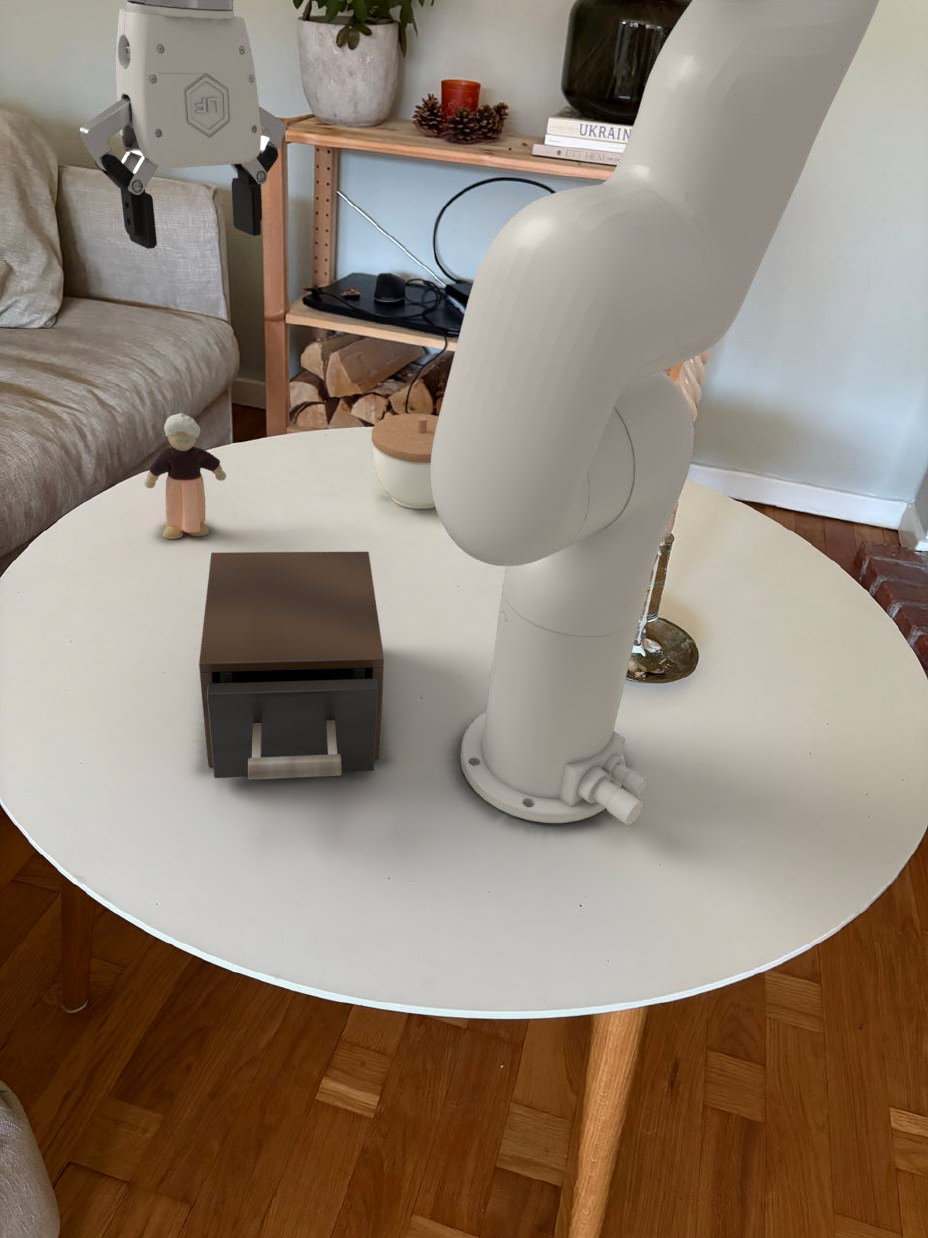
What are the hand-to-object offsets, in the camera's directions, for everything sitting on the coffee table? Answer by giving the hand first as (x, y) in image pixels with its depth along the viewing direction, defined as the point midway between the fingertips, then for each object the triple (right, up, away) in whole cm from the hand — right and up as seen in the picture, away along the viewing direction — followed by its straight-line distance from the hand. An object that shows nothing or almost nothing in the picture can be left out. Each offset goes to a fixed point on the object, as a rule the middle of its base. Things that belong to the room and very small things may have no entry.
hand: (197, 237), depth 79 cm
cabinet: (+8, -38, -1) cm, 39 cm away
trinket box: (+17, -18, +29) cm, 38 cm away
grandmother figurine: (-6, -23, +19) cm, 30 cm away
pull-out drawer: (+9, -40, -6) cm, 42 cm away
